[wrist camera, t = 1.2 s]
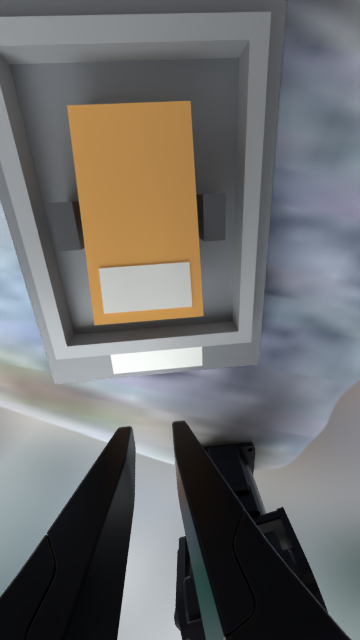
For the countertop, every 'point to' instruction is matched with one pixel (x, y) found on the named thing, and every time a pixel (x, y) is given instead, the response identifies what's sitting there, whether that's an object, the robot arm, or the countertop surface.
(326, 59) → the countertop surface
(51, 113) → the switch panel
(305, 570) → the robot arm
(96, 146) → the plate
